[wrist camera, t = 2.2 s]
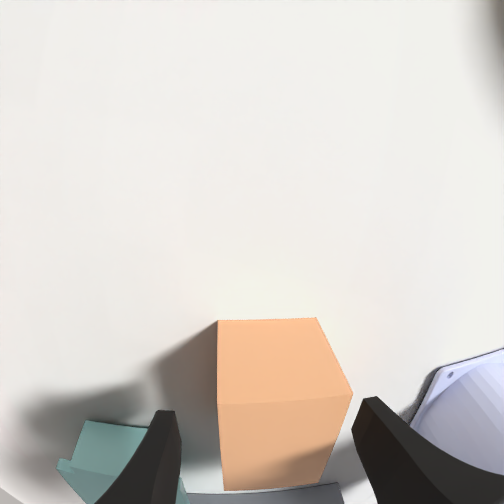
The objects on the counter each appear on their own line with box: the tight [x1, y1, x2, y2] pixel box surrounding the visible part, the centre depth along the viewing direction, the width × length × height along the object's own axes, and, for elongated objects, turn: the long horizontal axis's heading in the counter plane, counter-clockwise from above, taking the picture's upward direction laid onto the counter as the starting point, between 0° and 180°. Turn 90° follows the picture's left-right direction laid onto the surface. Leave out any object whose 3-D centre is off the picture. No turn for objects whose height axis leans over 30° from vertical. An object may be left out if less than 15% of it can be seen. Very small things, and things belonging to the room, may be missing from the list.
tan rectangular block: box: [217, 318, 353, 491], centre depth 11 cm, size 4×6×5 cm, turn 178°
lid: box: [56, 420, 190, 504], centre depth 14 cm, size 7×12×3 cm, turn 178°
